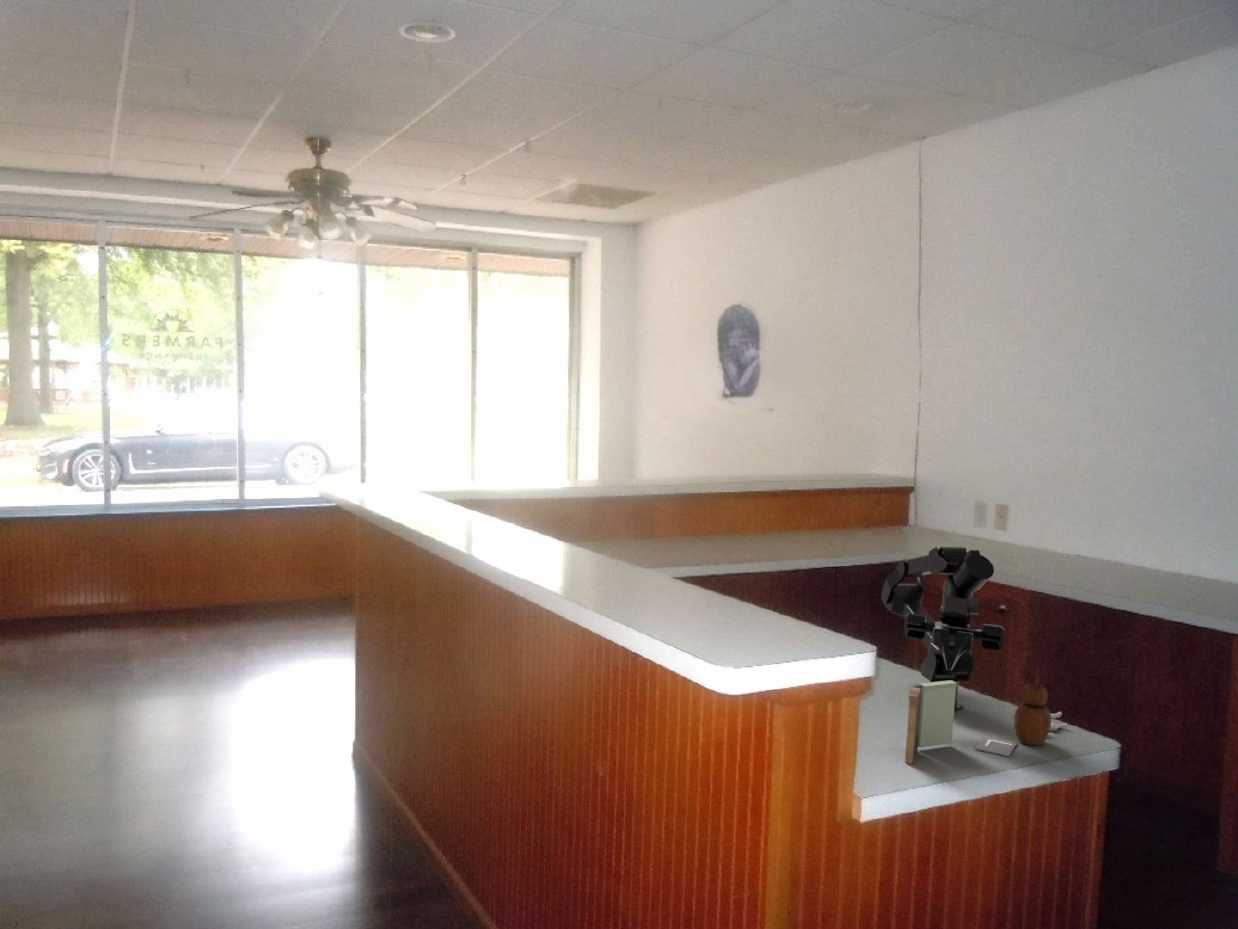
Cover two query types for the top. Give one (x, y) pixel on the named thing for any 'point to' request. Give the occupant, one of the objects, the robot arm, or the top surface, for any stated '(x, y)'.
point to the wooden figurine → (1033, 714)
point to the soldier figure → (1053, 726)
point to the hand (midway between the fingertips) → (949, 669)
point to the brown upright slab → (913, 722)
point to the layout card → (996, 746)
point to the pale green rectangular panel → (936, 713)
